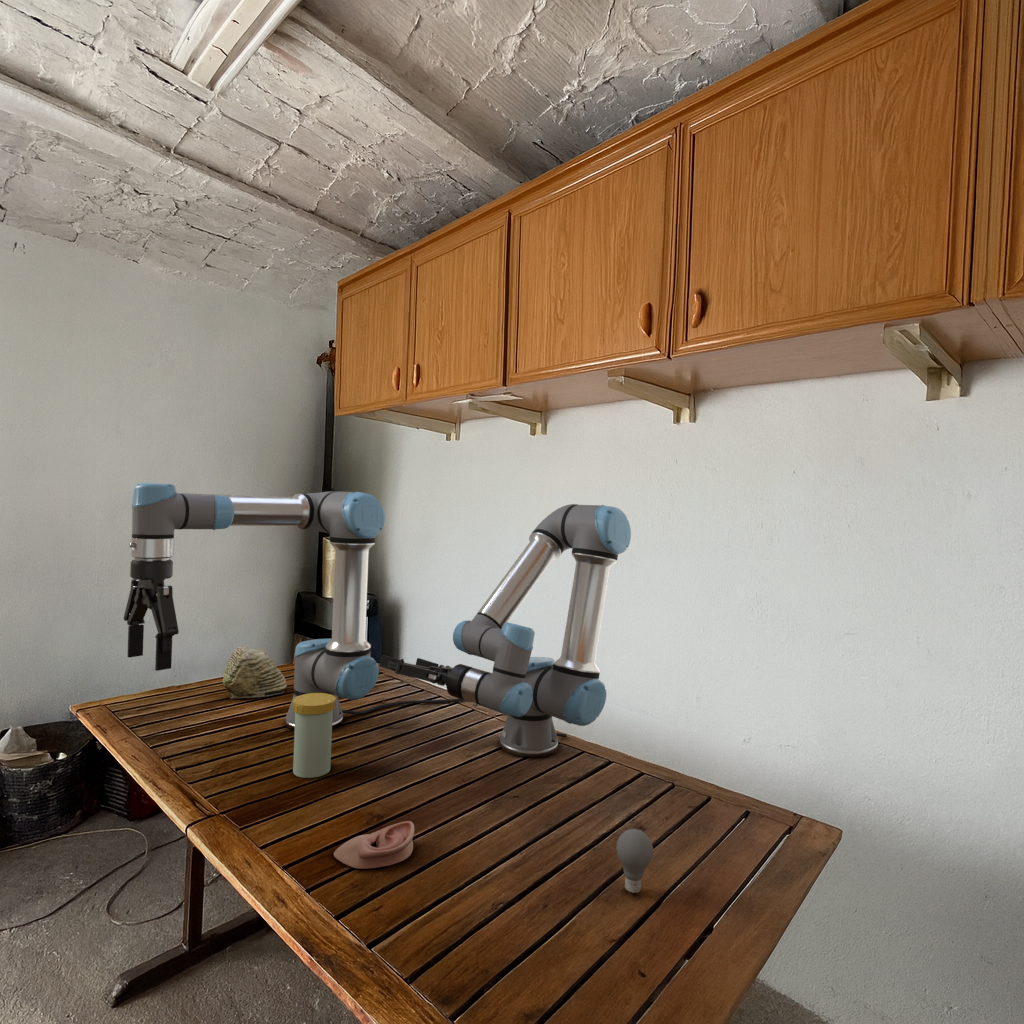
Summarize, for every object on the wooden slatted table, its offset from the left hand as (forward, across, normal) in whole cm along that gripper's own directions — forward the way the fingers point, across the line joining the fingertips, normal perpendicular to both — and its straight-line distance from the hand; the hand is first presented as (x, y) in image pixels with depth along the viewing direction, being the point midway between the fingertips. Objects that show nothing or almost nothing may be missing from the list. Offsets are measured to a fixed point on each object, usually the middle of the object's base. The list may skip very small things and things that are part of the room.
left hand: (148, 662), depth 129 cm
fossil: (+28, -47, +50) cm, 74 cm away
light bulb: (+28, +90, +41) cm, 103 cm away
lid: (+12, +12, +31) cm, 36 cm away
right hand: (+5, +19, +50) cm, 54 cm away
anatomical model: (+28, +50, +19) cm, 60 cm away
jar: (+28, +12, +31) cm, 44 cm away
